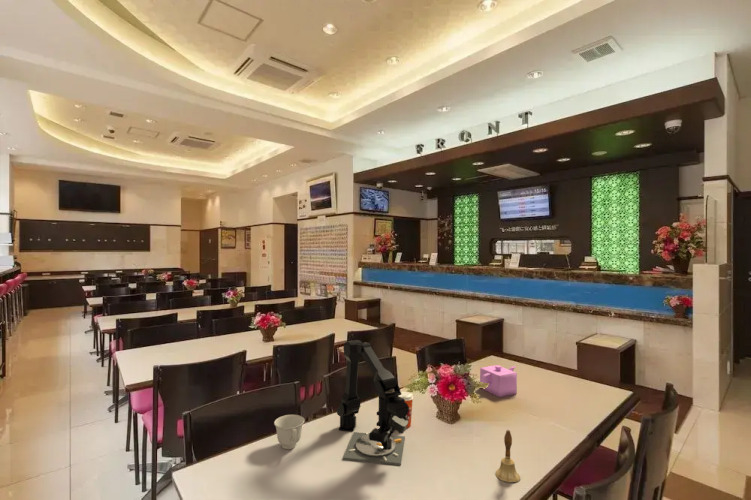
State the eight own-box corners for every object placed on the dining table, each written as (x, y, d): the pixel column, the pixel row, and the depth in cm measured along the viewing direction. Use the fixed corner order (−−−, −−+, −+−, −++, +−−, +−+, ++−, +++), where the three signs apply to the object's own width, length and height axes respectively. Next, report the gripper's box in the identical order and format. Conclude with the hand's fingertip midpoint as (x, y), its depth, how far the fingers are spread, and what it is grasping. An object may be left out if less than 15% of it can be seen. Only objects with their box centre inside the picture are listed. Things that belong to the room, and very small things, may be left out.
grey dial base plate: (343, 459, 143) (343, 454, 143) (353, 433, 162) (353, 429, 162) (400, 465, 139) (400, 460, 139) (404, 438, 159) (404, 434, 159)
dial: (347, 448, 149) (347, 438, 149) (370, 432, 162) (371, 422, 162) (381, 461, 140) (381, 450, 140) (403, 443, 153) (403, 433, 153)
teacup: (279, 460, 142) (279, 433, 142) (270, 442, 155) (271, 417, 155) (310, 452, 147) (310, 427, 147) (299, 435, 160) (299, 412, 160)
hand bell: (491, 469, 137) (492, 426, 137) (513, 468, 138) (514, 425, 138) (501, 483, 129) (501, 437, 129) (524, 482, 130) (525, 436, 130)
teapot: (525, 391, 213) (526, 366, 213) (492, 399, 202) (492, 372, 202) (505, 382, 227) (505, 359, 227) (473, 389, 216) (473, 364, 215)
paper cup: (412, 429, 166) (412, 398, 166) (394, 428, 168) (395, 396, 168) (413, 421, 174) (414, 391, 174) (397, 420, 176) (397, 390, 176)
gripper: (396, 422, 133) (396, 467, 133) (413, 403, 150) (413, 442, 150) (368, 417, 138) (368, 459, 138) (387, 398, 155) (387, 436, 155)
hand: (385, 449), depth 145 cm, fingers closed
